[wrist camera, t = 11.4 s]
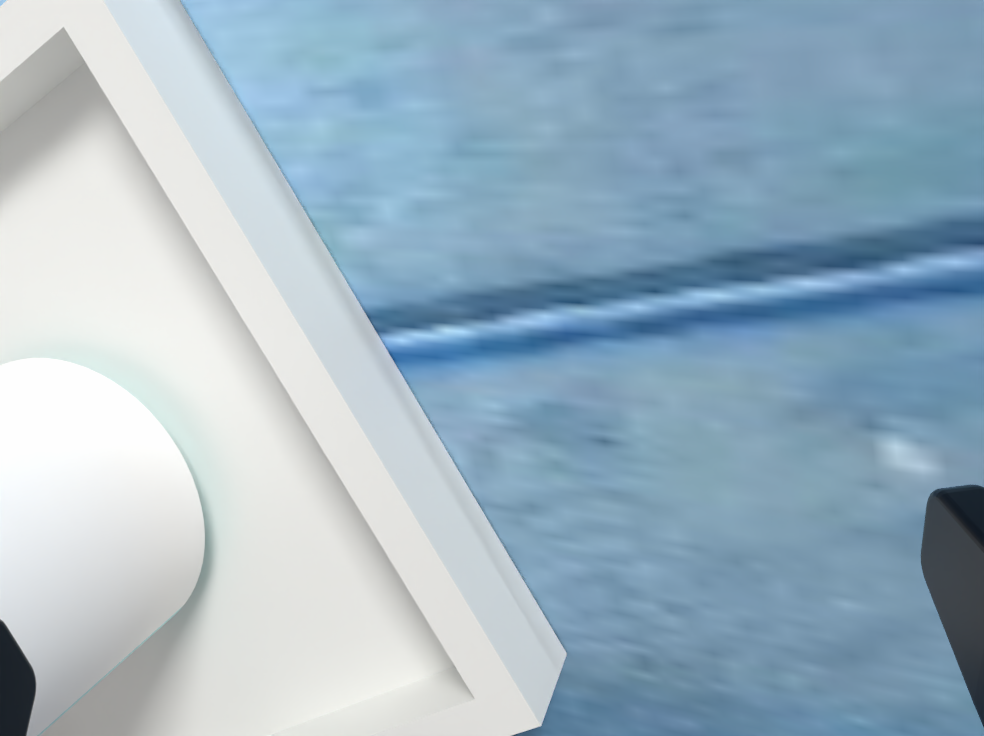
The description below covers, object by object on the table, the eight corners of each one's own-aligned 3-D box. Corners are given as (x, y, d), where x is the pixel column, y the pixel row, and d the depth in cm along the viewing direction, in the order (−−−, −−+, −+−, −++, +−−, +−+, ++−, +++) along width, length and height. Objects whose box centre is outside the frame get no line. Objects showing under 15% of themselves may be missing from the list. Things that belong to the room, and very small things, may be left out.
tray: (566, 654, 21) (541, 726, 19) (72, 828, 27) (8, 897, 25) (155, -41, 19) (69, -57, 16) (-274, 328, 25) (-378, 353, 23)
